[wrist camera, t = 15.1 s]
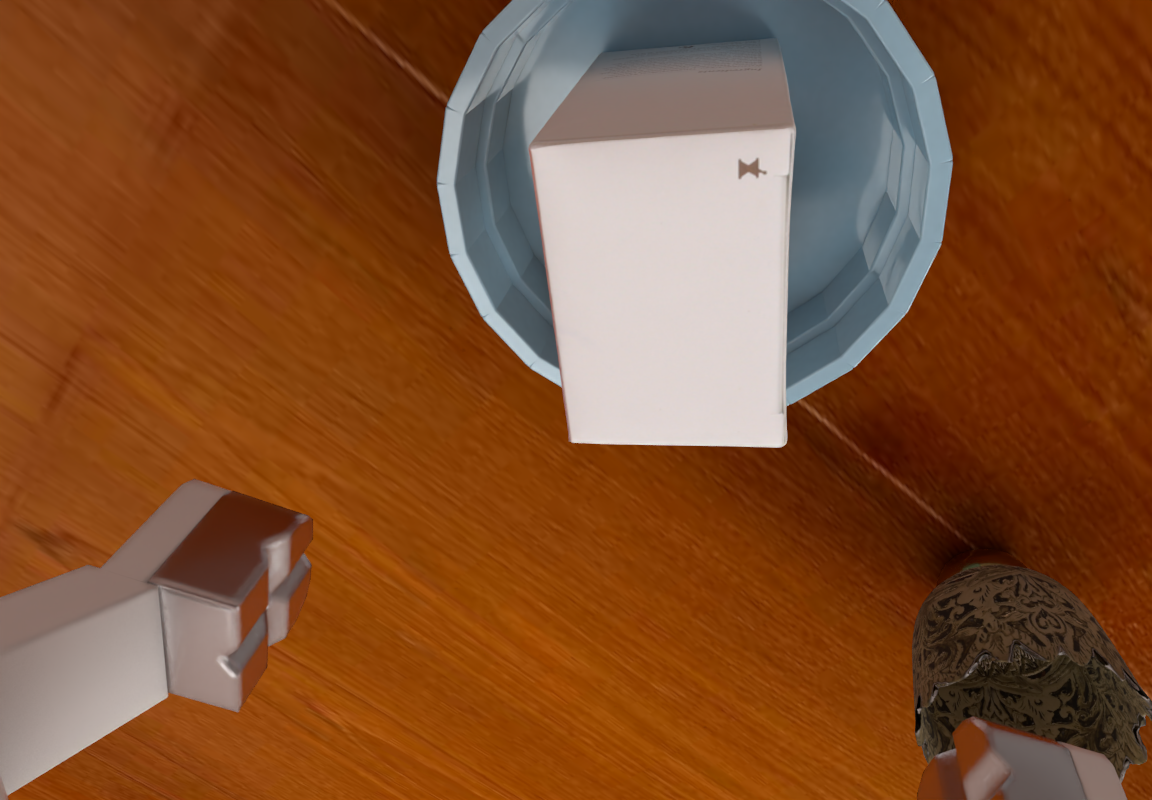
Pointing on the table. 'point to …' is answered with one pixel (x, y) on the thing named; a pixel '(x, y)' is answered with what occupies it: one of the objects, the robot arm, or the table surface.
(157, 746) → the table surface
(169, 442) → the table surface
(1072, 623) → the cup
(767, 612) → the table surface
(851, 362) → the bowl
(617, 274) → the small box
